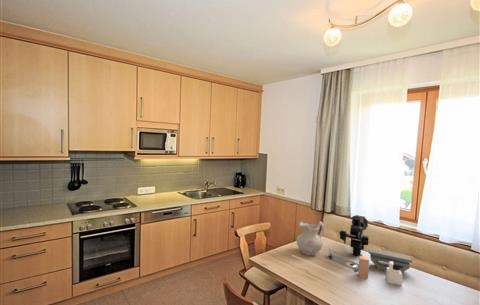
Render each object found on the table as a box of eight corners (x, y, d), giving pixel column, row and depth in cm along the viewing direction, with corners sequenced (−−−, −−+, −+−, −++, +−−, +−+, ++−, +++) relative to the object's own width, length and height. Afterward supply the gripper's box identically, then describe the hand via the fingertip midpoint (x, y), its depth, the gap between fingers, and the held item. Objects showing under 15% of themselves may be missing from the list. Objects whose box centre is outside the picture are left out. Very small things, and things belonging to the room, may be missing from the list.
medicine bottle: (398, 280, 156) (399, 261, 156) (401, 285, 149) (403, 266, 149) (385, 277, 158) (386, 259, 158) (388, 283, 152) (389, 264, 151)
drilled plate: (332, 255, 189) (332, 253, 189) (363, 266, 172) (363, 265, 172) (324, 259, 181) (324, 257, 181) (356, 271, 164) (356, 270, 164)
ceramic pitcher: (311, 247, 204) (310, 217, 206) (330, 255, 188) (329, 222, 189) (291, 252, 193) (291, 220, 195) (310, 260, 177) (309, 225, 178)
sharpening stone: (409, 271, 168) (410, 256, 168) (411, 276, 161) (412, 260, 161) (368, 262, 179) (369, 247, 179) (368, 266, 172) (369, 251, 172)
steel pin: (329, 255, 186) (330, 247, 185) (332, 257, 184) (333, 248, 184) (328, 256, 184) (328, 248, 184) (331, 257, 182) (331, 249, 182)
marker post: (358, 273, 162) (359, 255, 162) (366, 275, 160) (367, 257, 160) (359, 277, 157) (360, 258, 157) (368, 278, 156) (369, 260, 155)
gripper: (342, 219, 184) (337, 232, 172) (370, 225, 173) (366, 238, 161) (342, 232, 187) (337, 245, 175) (369, 238, 177) (366, 252, 165)
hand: (351, 244), depth 169 cm, fingers open, 9 cm apart
